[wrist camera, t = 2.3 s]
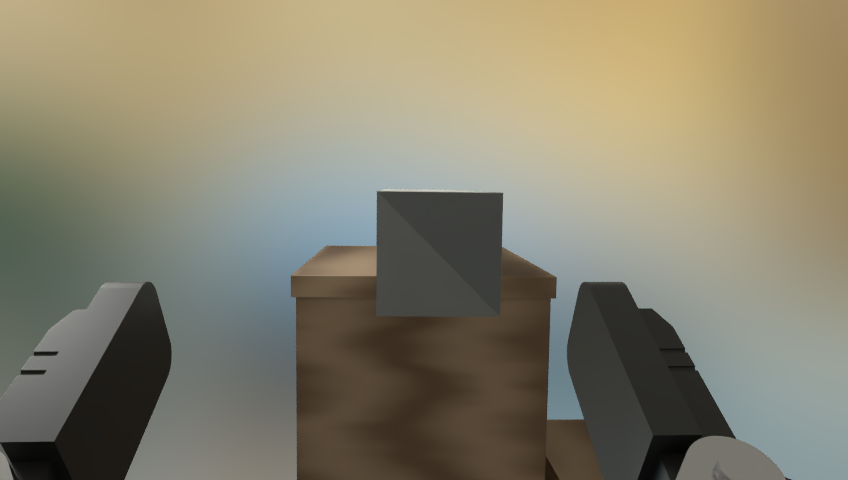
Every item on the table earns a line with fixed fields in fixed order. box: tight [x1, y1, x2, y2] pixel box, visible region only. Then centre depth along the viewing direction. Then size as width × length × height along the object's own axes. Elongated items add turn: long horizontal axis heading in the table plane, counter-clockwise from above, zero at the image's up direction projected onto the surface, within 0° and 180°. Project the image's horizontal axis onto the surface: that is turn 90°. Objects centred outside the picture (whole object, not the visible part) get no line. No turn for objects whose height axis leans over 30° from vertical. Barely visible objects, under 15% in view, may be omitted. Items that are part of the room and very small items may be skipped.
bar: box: [376, 189, 503, 317], centre depth 31 cm, size 4×24×4 cm, turn 3°
